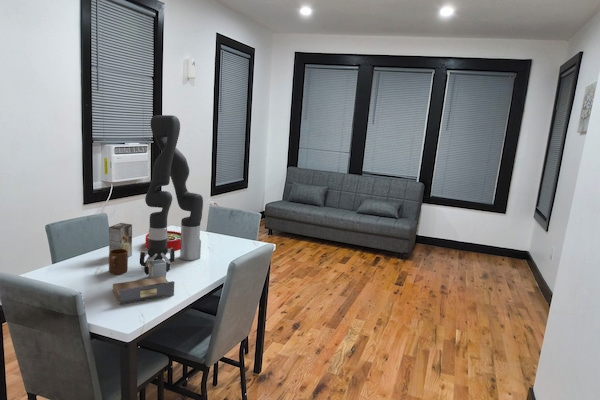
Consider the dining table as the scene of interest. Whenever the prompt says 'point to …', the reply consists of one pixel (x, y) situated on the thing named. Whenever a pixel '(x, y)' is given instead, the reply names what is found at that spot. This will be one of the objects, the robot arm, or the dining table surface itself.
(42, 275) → the dining table surface
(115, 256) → the mug
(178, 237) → the toy clock
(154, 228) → the robot arm
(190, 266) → the dining table surface
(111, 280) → the dining table surface
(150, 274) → the carton
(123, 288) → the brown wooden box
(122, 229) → the coffee box
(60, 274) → the dining table surface
